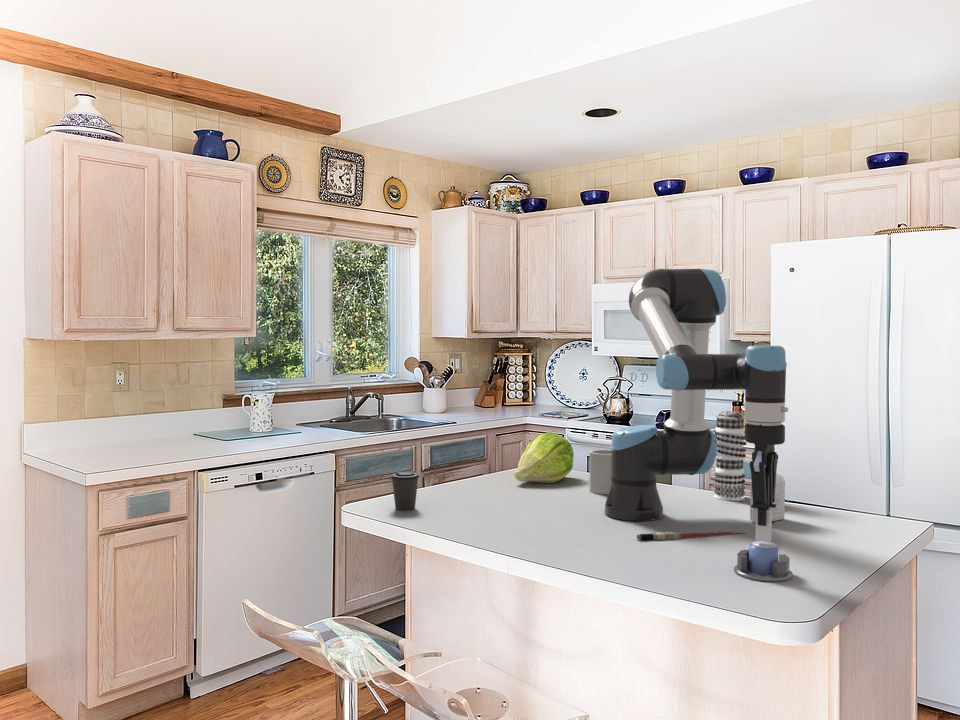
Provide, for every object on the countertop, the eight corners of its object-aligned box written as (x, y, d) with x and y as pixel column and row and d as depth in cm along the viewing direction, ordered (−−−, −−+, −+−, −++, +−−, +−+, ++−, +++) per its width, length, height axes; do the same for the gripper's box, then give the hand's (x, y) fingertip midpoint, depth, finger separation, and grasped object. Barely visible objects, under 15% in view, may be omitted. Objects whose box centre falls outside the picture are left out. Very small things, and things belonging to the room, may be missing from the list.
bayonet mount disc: (727, 575, 152) (727, 558, 152) (742, 561, 161) (742, 545, 161) (785, 585, 146) (785, 567, 146) (798, 570, 155) (798, 553, 155)
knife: (630, 538, 182) (639, 541, 177) (630, 530, 182) (639, 534, 177) (739, 534, 188) (751, 538, 184) (739, 527, 188) (751, 530, 184)
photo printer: (772, 516, 201) (773, 469, 201) (787, 519, 197) (787, 471, 197) (747, 521, 195) (747, 473, 195) (761, 525, 192) (762, 476, 191)
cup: (622, 494, 228) (622, 454, 228) (591, 494, 228) (591, 454, 228) (617, 488, 237) (617, 449, 237) (587, 488, 237) (587, 449, 237)
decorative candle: (706, 495, 226) (706, 411, 225) (730, 493, 230) (731, 410, 229) (727, 502, 218) (728, 414, 217) (752, 499, 221) (753, 412, 220)
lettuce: (541, 501, 237) (505, 497, 248) (588, 467, 253) (552, 465, 265) (528, 456, 234) (492, 455, 245) (577, 425, 250) (541, 425, 262)
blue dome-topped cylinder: (745, 572, 153) (746, 545, 153) (752, 565, 157) (753, 538, 157) (774, 576, 150) (774, 549, 149) (780, 569, 154) (781, 543, 154)
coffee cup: (385, 510, 208) (384, 473, 208) (399, 504, 216) (398, 468, 216) (411, 512, 205) (411, 475, 205) (425, 506, 213) (424, 470, 213)
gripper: (776, 427, 145) (775, 551, 146) (792, 421, 156) (790, 536, 157) (736, 425, 149) (735, 545, 150) (754, 418, 160) (752, 530, 161)
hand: (763, 540), depth 153 cm, fingers closed
